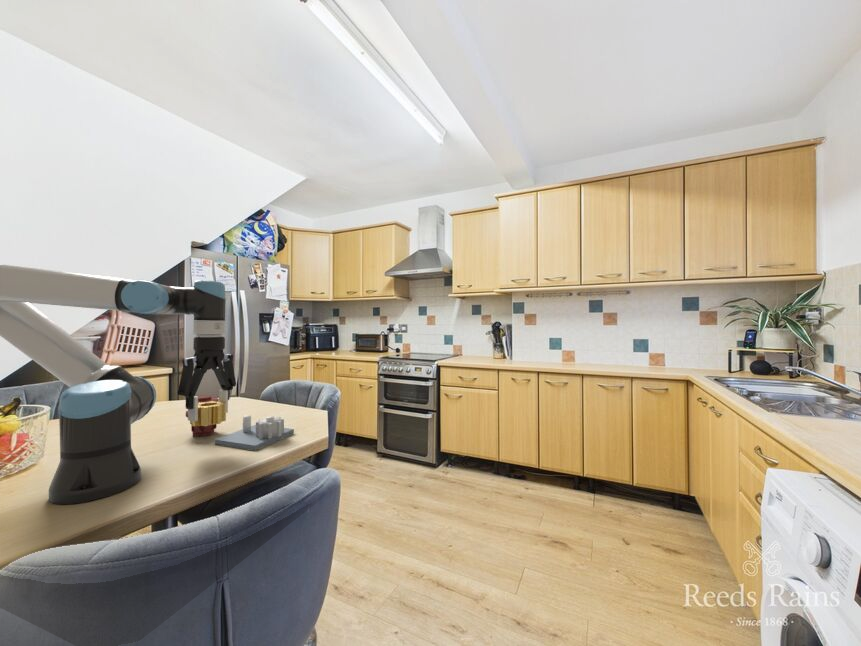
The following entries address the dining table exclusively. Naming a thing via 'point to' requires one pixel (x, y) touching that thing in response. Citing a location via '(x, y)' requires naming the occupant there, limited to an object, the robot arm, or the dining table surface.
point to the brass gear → (210, 413)
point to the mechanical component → (203, 429)
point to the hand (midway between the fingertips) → (208, 416)
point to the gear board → (256, 434)
